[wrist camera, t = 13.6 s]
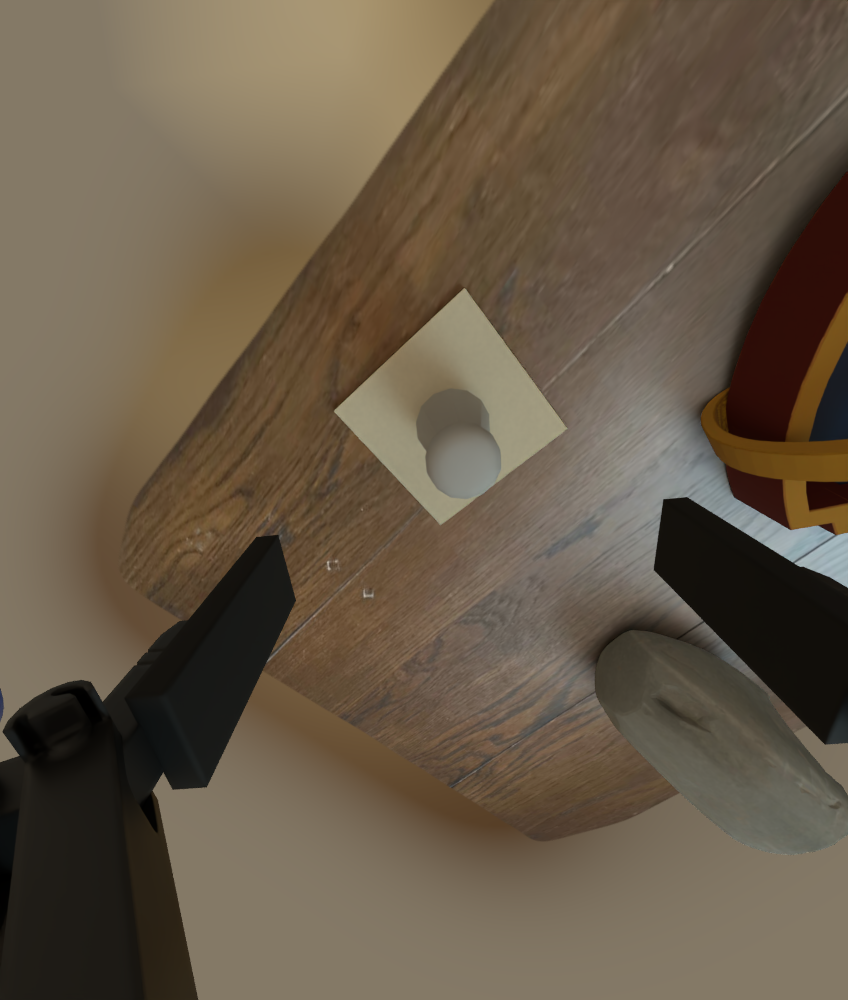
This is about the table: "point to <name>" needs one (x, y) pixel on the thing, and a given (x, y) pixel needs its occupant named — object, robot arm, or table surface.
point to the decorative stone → (720, 743)
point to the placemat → (437, 367)
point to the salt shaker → (458, 443)
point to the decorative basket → (794, 385)
